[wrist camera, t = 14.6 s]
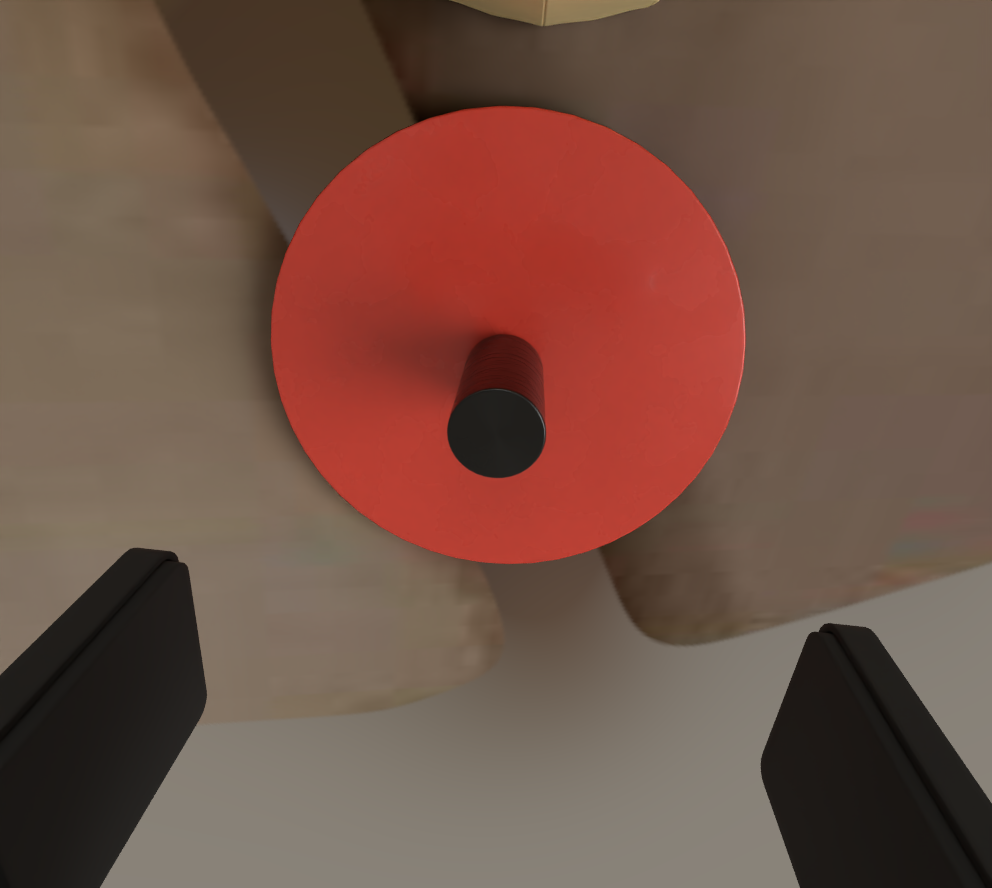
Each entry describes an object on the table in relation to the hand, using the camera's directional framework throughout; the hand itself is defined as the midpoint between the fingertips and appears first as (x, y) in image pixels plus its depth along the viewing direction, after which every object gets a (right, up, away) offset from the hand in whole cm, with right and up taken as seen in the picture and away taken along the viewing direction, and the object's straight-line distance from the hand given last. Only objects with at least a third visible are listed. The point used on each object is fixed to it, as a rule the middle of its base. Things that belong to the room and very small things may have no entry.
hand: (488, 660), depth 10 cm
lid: (0, +6, +12) cm, 13 cm away
